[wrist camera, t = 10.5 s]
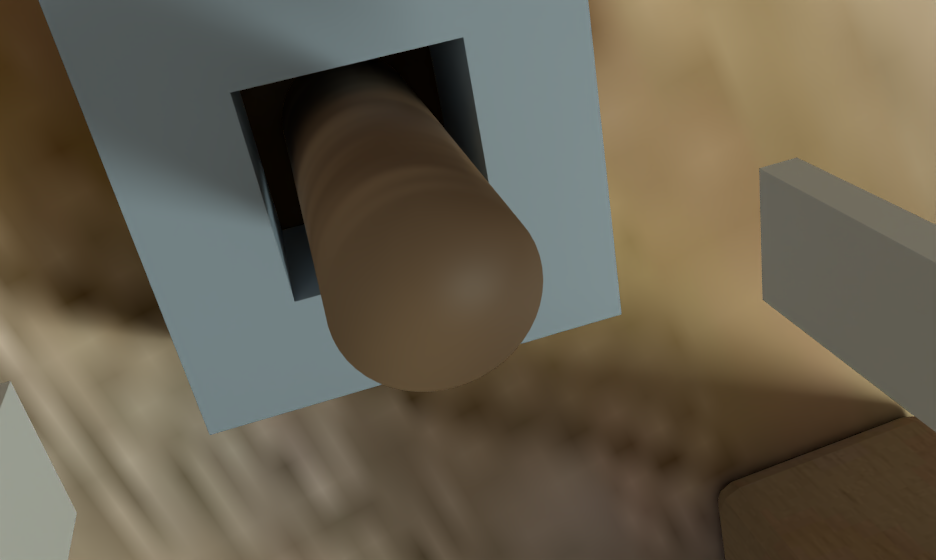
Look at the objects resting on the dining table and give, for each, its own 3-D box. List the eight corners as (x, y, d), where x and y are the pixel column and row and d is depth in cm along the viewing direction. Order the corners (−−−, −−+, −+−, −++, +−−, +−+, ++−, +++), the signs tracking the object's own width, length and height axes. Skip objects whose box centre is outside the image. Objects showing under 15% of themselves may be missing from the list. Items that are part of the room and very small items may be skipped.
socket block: (210, 345, 28) (209, 434, 24) (66, -45, 23) (30, -21, 18) (562, 247, 30) (621, 314, 26) (509, -138, 24) (573, -136, 20)
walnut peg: (301, 197, 27) (354, 417, 16) (265, 69, 25) (298, 224, 15) (427, 166, 27) (556, 357, 17) (401, 38, 26) (527, 165, 15)
